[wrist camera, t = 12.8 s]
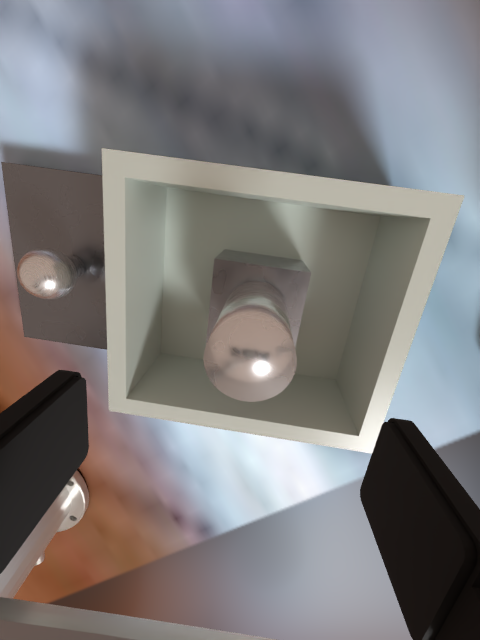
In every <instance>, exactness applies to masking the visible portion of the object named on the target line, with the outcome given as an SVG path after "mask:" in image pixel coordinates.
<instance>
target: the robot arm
mask: <svg viewBox="0 0 480 640" xmlns="http://www.w3.org/2000/svg"><path fill="white" fill-rule="evenodd" d="M88 448H89V443H88V418H87V394H86V380H85V379H84V378H82V377H81V374H80V373H78V372H72V371H65V370H58V371H56V372H55V373H54V374H52V375H51V376H50V377H48V378H47V379H46V380H44V381H43V382H42V383H40V384H39V385H38V386H36V387H35V388H34V389H32V390H31V391H30V392H28V393H27V394H26V395H24V396H23V397H22V398H20V399H19V400H18V401H16V402H15V403H14V404H12V405H11V406H10V407H8V408H7V409H6V410H4V411H3V412H2V413H0V640H276V639H270V638H263V637H257V636H250V635H244V634H238V633H232V632H225V631H219V630H213V629H206V628H200V627H193V626H187V625H181V624H174V623H168V622H162V621H155V620H149V619H143V618H136V617H129V616H123V615H117V614H109V613H103V612H97V611H90V610H83V609H76V608H70V607H63V606H57V605H50V604H44V603H37V602H30V601H24V600H17V599H13V597H14V596H15V594H16V593H17V591H18V590H19V588H20V587H21V585H22V584H23V582H24V580H25V579H26V577H27V576H28V574H29V573H30V571H31V570H32V568H33V567H34V565H38V564H40V563H41V562H42V561H43V560H44V558H45V553H44V550H45V549H46V547H47V545H48V544H49V542H50V541H51V539H52V538H53V536H54V535H55V533H56V532H60V531H64V530H67V529H69V528H71V527H73V526H74V525H76V524H77V523H78V522H79V521H80V519H81V518H82V517H83V515H84V513H85V511H86V509H87V507H88V503H89V492H88V489H87V485H86V483H85V481H84V479H83V478H82V476H81V475H80V473H79V472H78V471H77V469H78V468H79V466H80V465H81V464H82V462H83V461H84V459H85V458H86V455H87V453H88ZM360 497H361V501H362V504H363V507H364V510H365V512H366V515H367V518H368V520H369V523H370V526H371V529H372V531H373V534H374V537H375V540H376V542H377V545H378V548H379V550H380V553H381V556H382V559H383V562H384V564H385V567H386V569H387V572H388V575H389V578H390V581H391V583H392V586H393V589H394V591H395V594H396V597H397V600H398V603H399V605H400V608H401V611H402V613H403V616H404V619H405V621H406V624H407V627H408V630H409V632H410V635H411V637H412V639H413V640H480V509H479V508H478V506H477V505H476V504H475V503H474V501H473V500H472V499H471V497H470V496H469V495H468V493H467V492H466V491H465V489H464V488H463V487H462V486H461V484H460V483H459V482H458V480H457V479H456V478H455V476H454V475H453V474H452V472H451V471H450V470H449V469H448V467H447V466H446V465H445V463H444V462H443V461H442V459H441V458H440V457H439V455H438V454H437V453H436V452H435V450H434V449H433V448H432V446H431V445H430V444H429V442H428V441H427V440H426V438H425V437H424V436H423V434H422V433H421V432H420V431H419V429H418V428H417V427H416V425H415V424H414V423H413V422H412V421H408V420H402V419H395V418H391V419H389V420H388V422H384V423H383V424H382V426H381V429H380V432H379V435H378V438H377V441H376V444H375V447H374V450H373V453H372V456H371V459H370V462H369V465H368V468H367V471H366V474H365V477H364V479H363V482H362V485H361V489H360Z"/></svg>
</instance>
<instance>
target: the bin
mask: <svg viewBox="0 0 480 640" xmlns="http://www.w3.org/2000/svg"><path fill="white" fill-rule="evenodd" d="M102 180H103V216H104V251H105V286H106V321H107V357H108V392H109V411H114V412H120V413H126V414H132V415H138V416H144V417H151V418H157V419H163V420H169V421H175V422H181V423H188V424H194V425H200V426H206V427H212V428H218V429H224V430H231V431H237V432H243V433H249V434H255V435H261V436H268V437H274V438H280V439H286V440H292V441H298V442H304V443H311V444H317V445H323V446H329V447H335V448H341V449H348V450H354V451H360V452H366V453H373V450H374V447H375V444H376V441H377V438H378V435H379V432H380V429H381V426H382V424H383V422H384V419H385V416H386V414H387V411H388V408H389V405H390V402H391V400H392V397H393V394H394V391H395V388H396V386H397V383H398V380H399V377H400V374H401V372H402V369H403V366H404V363H405V361H406V358H407V355H408V352H409V349H410V347H411V344H412V341H413V338H414V335H415V333H416V330H417V327H418V324H419V321H420V319H421V316H422V313H423V310H424V307H425V305H426V302H427V299H428V296H429V294H430V291H431V288H432V285H433V282H434V280H435V277H436V274H437V271H438V268H439V266H440V263H441V260H442V257H443V254H444V252H445V249H446V246H447V243H448V240H449V238H450V235H451V232H452V229H453V226H454V224H455V221H456V218H457V215H458V213H459V210H460V207H461V204H462V201H463V199H464V196H463V195H455V194H448V193H440V192H432V191H425V190H417V189H409V188H402V187H394V186H387V185H379V184H371V183H364V182H356V181H349V180H341V179H333V178H326V177H318V176H310V175H303V174H295V173H288V172H280V171H272V170H265V169H257V168H249V167H242V166H234V165H227V164H219V163H211V162H204V161H196V160H189V159H181V158H173V157H166V156H158V155H150V154H143V153H135V152H128V151H120V150H112V149H105V148H102ZM224 249H227V250H234V251H241V252H248V253H255V254H262V255H269V256H276V257H283V258H290V259H297V260H302V261H303V262H304V263H305V265H306V266H307V267H308V269H309V270H310V271H311V276H310V281H309V286H308V290H307V295H306V300H305V304H304V309H303V314H302V318H301V323H300V328H299V332H298V337H297V342H296V346H295V351H296V357H297V365H296V371H295V374H294V376H293V379H292V380H291V382H290V383H289V385H288V386H287V387H286V388H285V389H284V390H283V391H282V392H281V393H279V394H278V395H276V396H274V397H272V398H269V399H267V400H263V401H257V402H247V401H240V400H236V399H234V398H231V397H229V396H227V395H225V394H224V393H222V392H221V391H219V390H218V389H217V388H216V387H215V386H214V385H213V383H212V382H211V381H210V379H209V377H208V376H207V373H206V371H205V367H204V350H205V347H206V337H207V327H208V317H209V307H210V297H211V287H212V276H213V266H214V258H215V257H217V256H218V255H219V254H220V253H221V252H222V251H223V250H224Z"/></svg>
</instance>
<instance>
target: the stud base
mask: <svg viewBox="0 0 480 640" xmlns="http://www.w3.org/2000/svg"><path fill="white" fill-rule="evenodd" d="M1 163H2V171H3V178H4V186H5V194H6V201H7V209H8V216H9V224H10V231H11V239H12V247H13V254H14V262H15V269H16V277H17V284H18V292H19V299H20V307H21V315H22V322H23V330H24V337H29V338H36V339H42V340H49V341H55V342H62V343H68V344H75V345H81V346H87V347H94V348H100V349H107V321H106V286H105V251H104V216H103V180H102V176H101V175H94V174H87V173H79V172H72V171H64V170H57V169H49V168H42V167H35V166H27V165H20V164H12V163H5V162H1Z"/></svg>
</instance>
